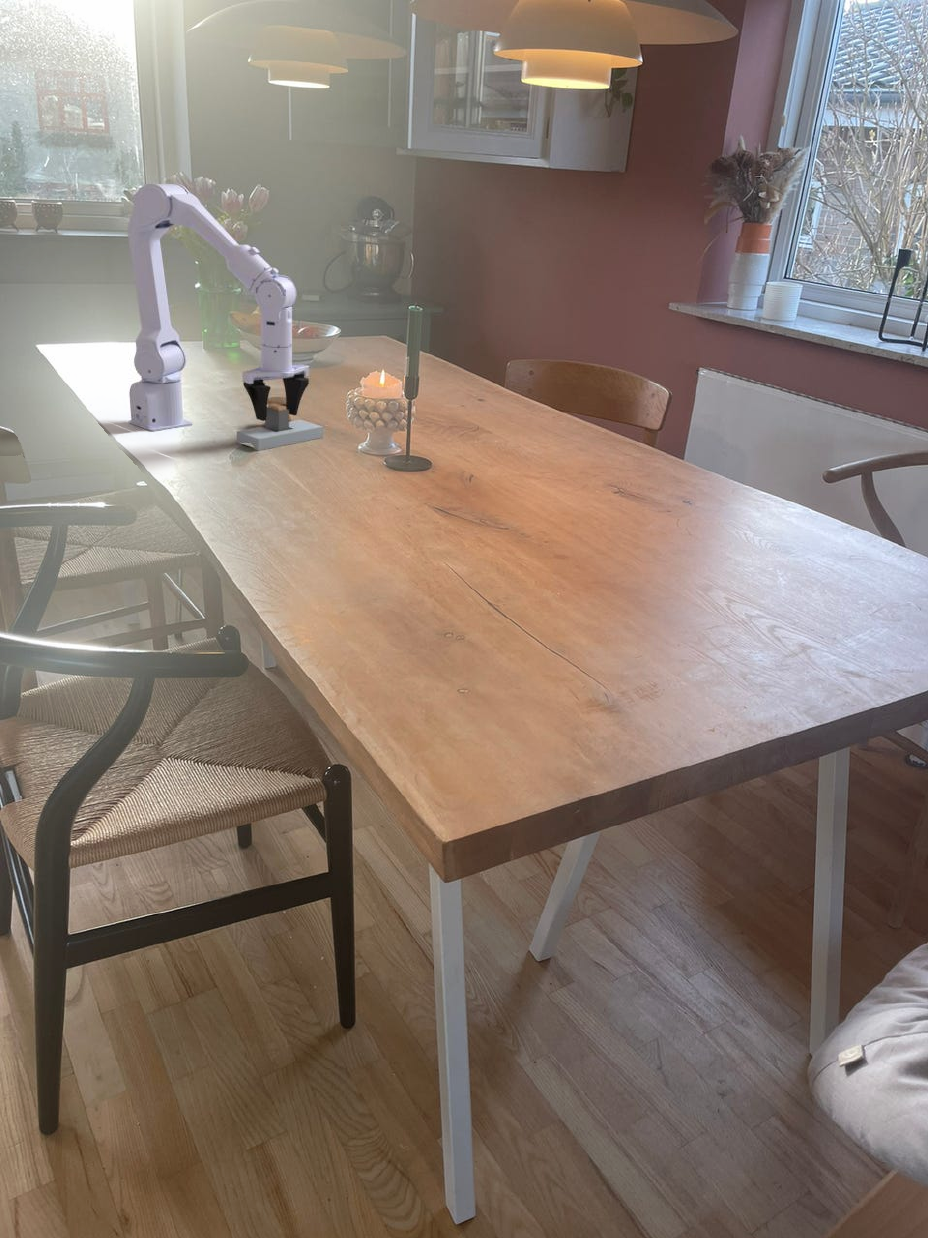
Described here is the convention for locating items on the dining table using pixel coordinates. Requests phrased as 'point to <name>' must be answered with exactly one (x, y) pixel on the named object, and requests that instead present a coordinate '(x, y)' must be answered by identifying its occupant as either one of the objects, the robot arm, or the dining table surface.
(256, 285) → the robot arm
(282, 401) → the tan wooden yo-yo
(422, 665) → the dining table surface
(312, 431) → the board
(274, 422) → the grey rectangular block
